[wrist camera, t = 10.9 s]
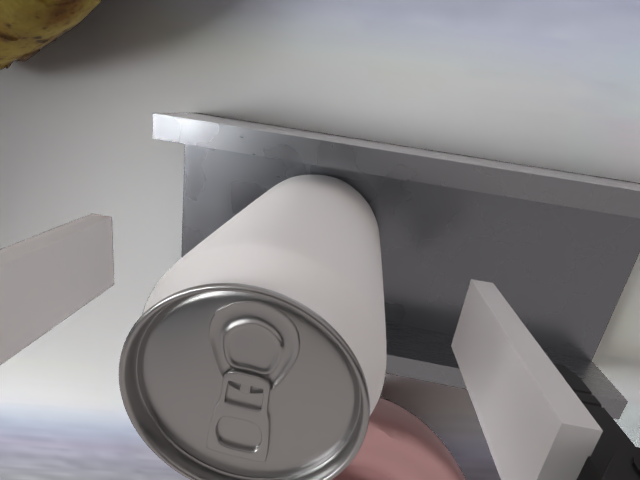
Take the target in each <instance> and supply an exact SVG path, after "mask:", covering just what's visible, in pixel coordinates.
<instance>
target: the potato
mask: <svg viewBox="0 0 640 480" xmlns="http://www.w3.org/2000/svg"><path fill="white" fill-rule="evenodd" d="M101 1H102V0H0V70H1V69H3V68H5V67H6V68H8V67H9V66H10V65H11V63H12V62H13V61H14V60H16V59H17V60H19V61H22V62H23V61H25V60H27V59H29V58H30V57H32V56H33V55H35V54H36V53H37V52H39V51H40V48H42V47H44V46H45V45H47V44H48V43H50V42H52V41H55V40H56V39H57V38H58V37H60V36H62V35H63V34H65V33H67V32H68V31H70V30H71V29H72V28H74V27H75V26H76V25H77V24H78V23H80V22H81V21H82V20H83V19H84V18H85V17H86V16H87V15H88V14H89V13H90V12H91V11H92V10H93V9H94V8H95V7H96V6H97V5H98V4H99V3H100V2H101Z"/></svg>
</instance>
